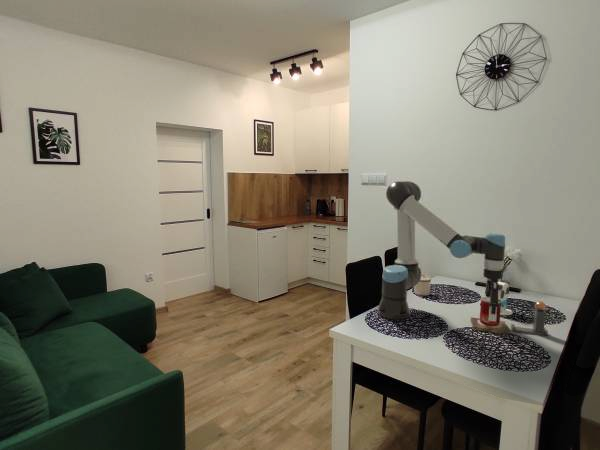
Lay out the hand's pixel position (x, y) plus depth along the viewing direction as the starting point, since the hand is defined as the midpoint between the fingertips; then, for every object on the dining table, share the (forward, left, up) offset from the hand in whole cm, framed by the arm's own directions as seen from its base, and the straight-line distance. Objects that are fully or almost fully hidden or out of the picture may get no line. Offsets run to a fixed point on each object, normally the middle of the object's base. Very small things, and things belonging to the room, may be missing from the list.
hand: (490, 315), depth 165 cm
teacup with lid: (-31, +43, -6) cm, 53 cm away
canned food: (0, 0, -4) cm, 4 cm away
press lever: (+19, 0, -4) cm, 19 cm away
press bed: (0, 0, -5) cm, 5 cm away
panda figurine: (+8, +25, -6) cm, 27 cm away
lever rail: (+16, 0, -5) cm, 16 cm away
